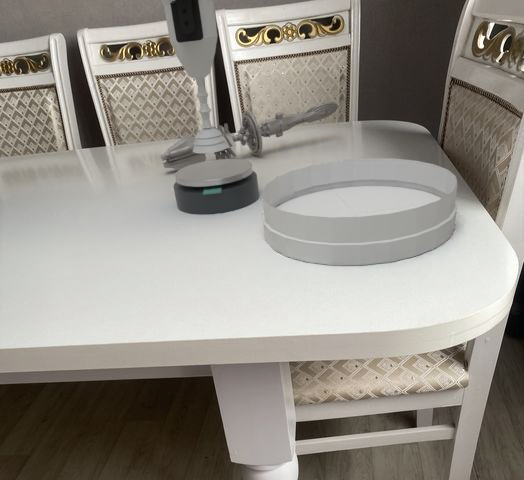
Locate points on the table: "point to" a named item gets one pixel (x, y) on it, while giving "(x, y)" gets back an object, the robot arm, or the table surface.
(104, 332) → the table surface
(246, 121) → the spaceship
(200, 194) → the scale
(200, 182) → the scale pan
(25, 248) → the table surface
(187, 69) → the chalice
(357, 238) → the gray round ring
